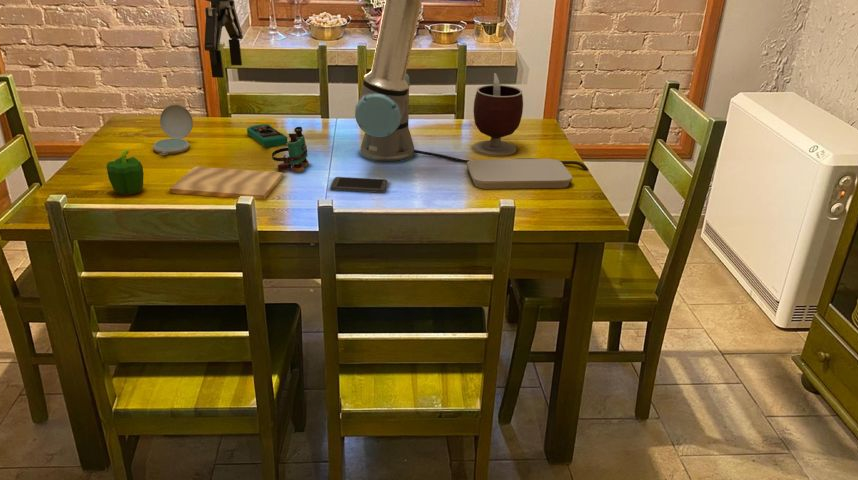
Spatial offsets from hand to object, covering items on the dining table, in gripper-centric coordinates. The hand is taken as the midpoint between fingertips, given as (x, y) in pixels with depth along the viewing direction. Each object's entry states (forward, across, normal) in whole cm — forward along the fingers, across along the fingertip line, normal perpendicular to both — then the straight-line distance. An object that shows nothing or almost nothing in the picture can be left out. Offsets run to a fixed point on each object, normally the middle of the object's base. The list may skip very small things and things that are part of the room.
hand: (227, 71), depth 190 cm
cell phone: (+24, +12, +36) cm, 45 cm away
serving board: (+25, +17, +3) cm, 30 cm away
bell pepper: (+24, +26, -19) cm, 40 cm away
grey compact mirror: (+24, -6, -22) cm, 33 cm away
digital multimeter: (+25, -19, +2) cm, 32 cm away
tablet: (+26, -3, +76) cm, 81 cm away
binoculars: (+25, +2, +15) cm, 29 cm away
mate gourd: (+26, -26, +69) cm, 78 cm away
